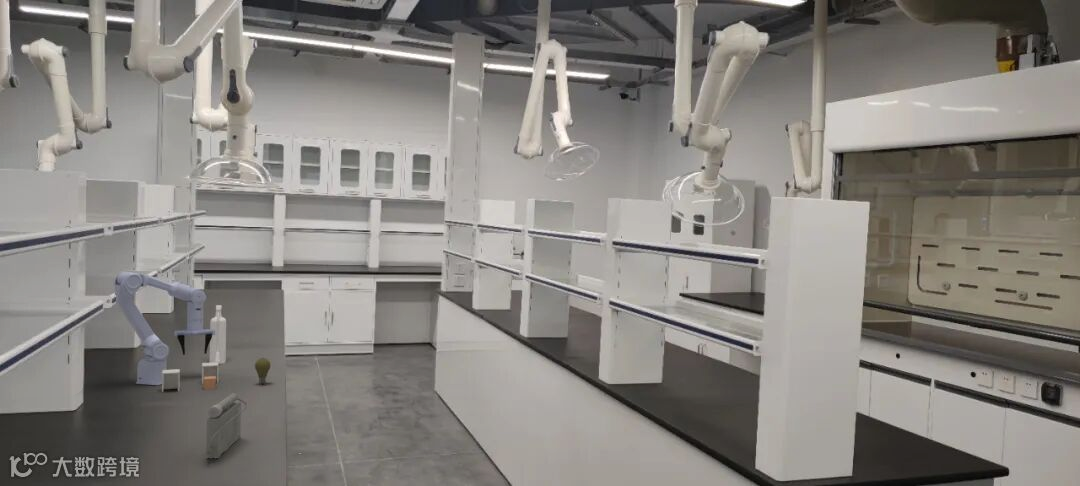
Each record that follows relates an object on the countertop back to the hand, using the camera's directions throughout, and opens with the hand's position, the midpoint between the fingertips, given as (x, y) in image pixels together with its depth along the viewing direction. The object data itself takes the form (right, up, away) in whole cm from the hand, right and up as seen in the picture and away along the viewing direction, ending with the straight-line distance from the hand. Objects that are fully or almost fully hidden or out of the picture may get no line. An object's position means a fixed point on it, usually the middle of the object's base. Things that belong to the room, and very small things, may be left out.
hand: (194, 353), depth 295 cm
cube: (+13, -11, -15) cm, 22 cm away
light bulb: (+29, -11, -6) cm, 32 cm away
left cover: (+1, -10, -21) cm, 23 cm away
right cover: (+9, -10, -6) cm, 15 cm away
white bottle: (-4, -8, +29) cm, 31 cm away
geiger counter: (+47, -15, -85) cm, 99 cm away
